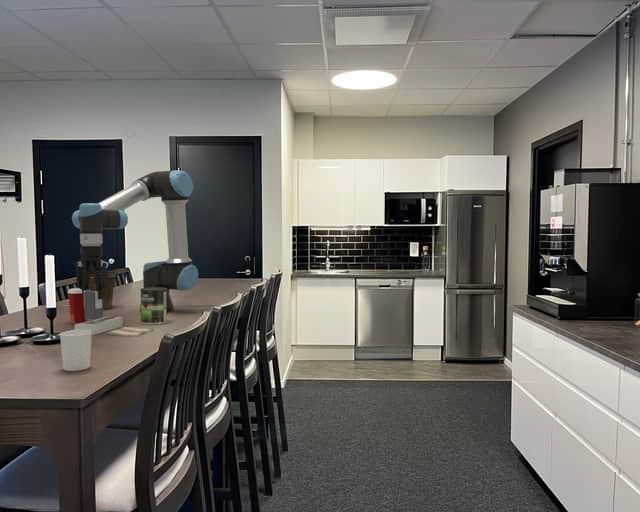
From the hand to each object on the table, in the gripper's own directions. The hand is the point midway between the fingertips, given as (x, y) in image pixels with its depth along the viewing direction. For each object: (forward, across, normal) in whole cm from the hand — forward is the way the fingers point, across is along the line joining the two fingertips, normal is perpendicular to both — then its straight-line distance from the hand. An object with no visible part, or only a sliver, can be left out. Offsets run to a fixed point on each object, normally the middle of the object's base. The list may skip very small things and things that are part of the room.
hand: (93, 307), depth 191 cm
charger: (+4, 0, 0) cm, 4 cm away
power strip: (+10, 0, +3) cm, 10 cm away
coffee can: (+10, +11, +23) cm, 28 cm away
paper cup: (+9, -18, +14) cm, 25 cm away
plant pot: (+10, -34, +48) cm, 60 cm away
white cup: (+9, +28, -44) cm, 53 cm away
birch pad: (+9, +14, +2) cm, 17 cm away
